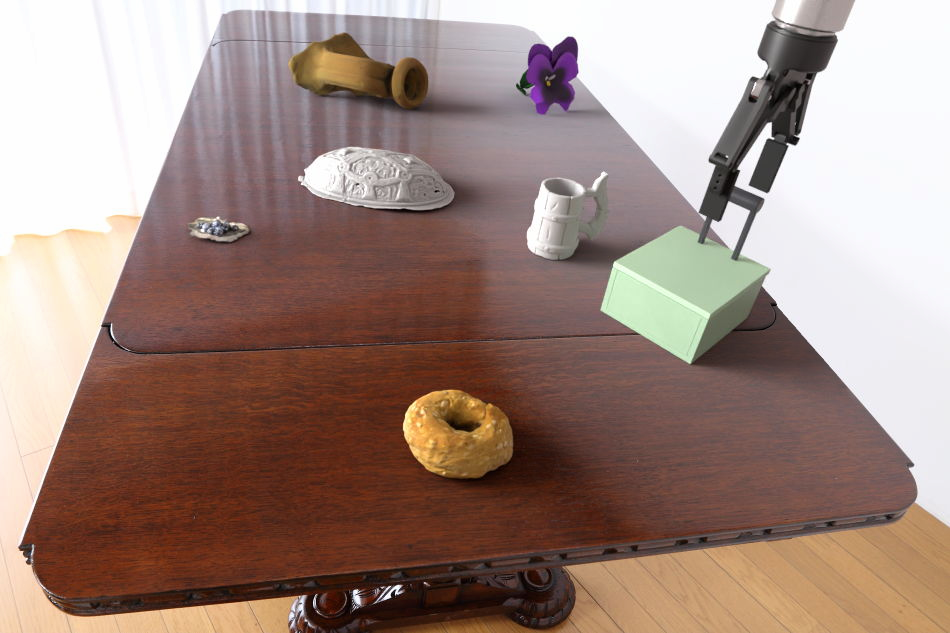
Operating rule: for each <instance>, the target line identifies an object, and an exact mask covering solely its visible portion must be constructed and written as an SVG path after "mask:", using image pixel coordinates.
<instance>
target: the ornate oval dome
mask: <svg viewBox="0 0 950 633" xmlns="http://www.w3.org/2000/svg"><path fill="white" fill-rule="evenodd" d="M303 170H304V173H305V174H304V175H305V176H303V175H299V176H298V179H297V180H298V182H300V185H301V186H304V187H306V188H307V190H309V191H310V192H311V193H312V194H313V195H315V196H317V197H319V198H322V199H327V200H333V201H335V202H339V203H344V204H348V205H352V206H356V207H364V208H370V209H371V208H372V209H382V210H383V209H389V210H391V209H392V210H395V209H396V210H402V209H405V210H411V211H426V210H427V211H428V210H434V209H441V208H443V207H445V206H447V205H449V204H450V203H451V202H452V201H453V200H454V198H455V191H454V190H453V188H452V186H451V185H450V184H449V183H447V182H446V181H445V180H443V178H442V176H441V174H440V173H439V172H438V171H436V169H434V168H433V167H432V166H431V165H429V164H428V163H427V162H425V161H423V160H422V159H421V158H418V157H416V155H414V154H410V153H404V152H400V151H399V152H398V151H394V150H393V151H392V150H386V149H379V148H378V149H377V148H371V147H370V148H369V147H362V146H347V147H343V148H338V149H334V150H332V151H328V152H326V153H323V154H322V155H319V156H318V157H317V158H315V159H314V161H313V162H312V163H311V164H310V165H309V166H308V167H306V168H304V169H303ZM435 191H437V192H435Z"/></svg>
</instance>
